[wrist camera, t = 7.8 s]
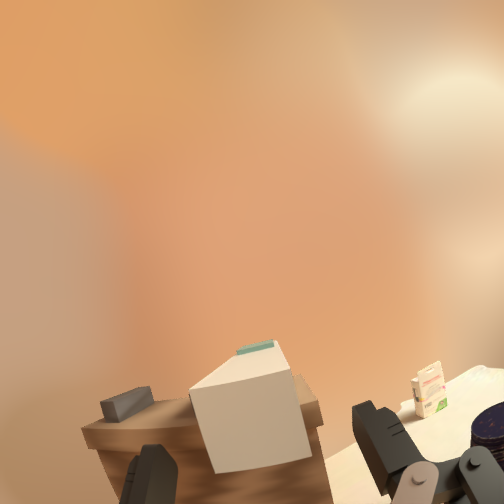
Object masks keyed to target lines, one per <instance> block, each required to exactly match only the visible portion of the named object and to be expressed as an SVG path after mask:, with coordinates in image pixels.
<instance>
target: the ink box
mask: <svg viewBox="0 0 504 504" xmlns="http://www.w3.org/2000/svg"><path fill="white" fill-rule="evenodd" d="M432 368H434V369H432ZM429 369H432V370H430V371H428V370H429ZM426 371H428V372H426ZM417 375H418V377H417V378H414V379H412V380H411V384H412V390H413V396H414V402H415V408H416V415H417V416H420V417H422V418H426V417H428V416H430V415H432V414H434V413H435V412H437V411H439V410H441V409H442V408H444V407H446V406H447V398H446V390H445V383H444V376H443V370H442V368H441V363H440V360H439V361H437V362H435V363H433V364H431V365H429V366H428V367H426V368H424V369H422V370H420V371H418V372H417Z"/></svg>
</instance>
